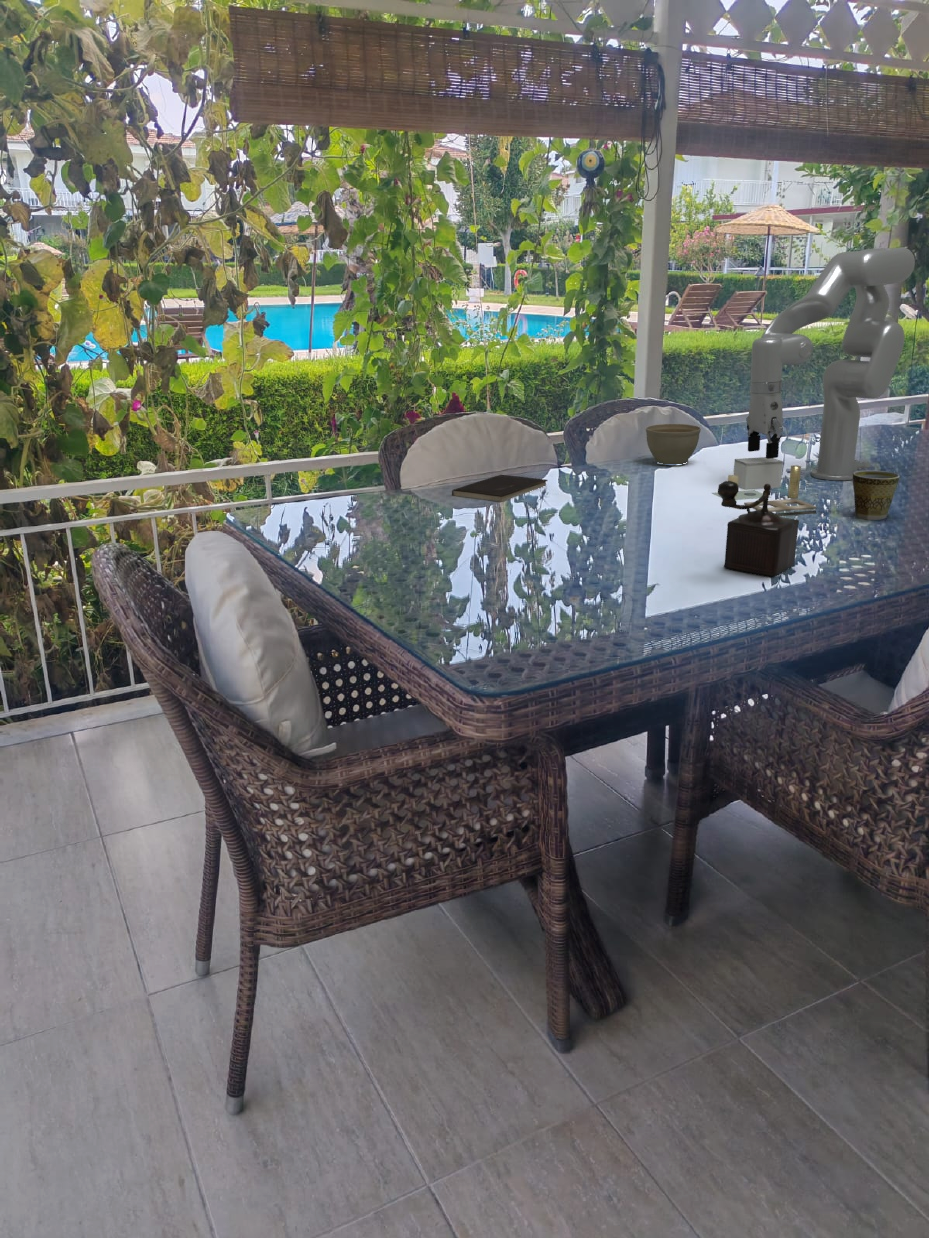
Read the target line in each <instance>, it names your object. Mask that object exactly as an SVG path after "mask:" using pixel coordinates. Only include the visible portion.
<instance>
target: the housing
mask: <svg viewBox="0 0 929 1238" xmlns="http://www.w3.org/2000/svg"><path fill="white" fill-rule="evenodd" d="M733 463H734V465H733V475H736V476H738V486H739V488H740V489H742V490H743V491H747V490H764V485H765V484H770V486H771V488H770V489H777V488H778V489H779V488H781V487H782V486H781V485H782V476H783V464H784V461H782V460H779V459H777V458H770V459H767V458H766V456H762V457H749V458H745V457H744V458H735V459H734V462H733Z"/></svg>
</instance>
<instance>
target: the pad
mask: <svg viewBox="0 0 929 1238" xmlns="http://www.w3.org/2000/svg"><path fill="white" fill-rule="evenodd" d="M727 479H728V480H727V481H732V482H735V483H737V484H738V476H736V475H734V474H732V475H728V477H727ZM711 494H712V495H714V496H717V497H718V498H721V496H720V495H719V494H718V491H717V492H711ZM762 495H763V492H760V491H757V490H756V489H751V490H739V491H738V493H737V494H736V496H735V500H736V501H738V500H739V501H741V500H754V499H755V500H758V499H759V498H760V497H761V496H762ZM770 498H771V499H772V496H771V495H770V496H769V498H768V499H770Z"/></svg>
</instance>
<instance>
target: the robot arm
mask: <svg viewBox="0 0 929 1238" xmlns="http://www.w3.org/2000/svg"><path fill="white" fill-rule="evenodd" d="M915 264H916V260H915V255H914V254H913V252H912V251H911V250H910V249H908V248H906V247H886V248H885V247H884V248H883V247H881V248H876V247H875V248H867V249H865V248H864V249H861V250H859V251H858V250H857V251H853V250H852V251H844V252H843V251H842V252H839V253H836V254H835V255H834V256H832V258H831V259H830V260H829V261H828V263H827V264H826V265H825V267H824V268H823V269H822V271H821V273H819V276H818V277H817V279H816V280H815V282H813V284H812V286H810V288H809V290H808V292H807V293H806V294H805V295H804V296H803V297H801V298H800V299H799V300H796V301H795V302H794V303H792V304H791V305H789V306H787V308H785V309H783V310H782V311H781V312H779V313H778V314H777V315H776V316H775V317H774V318H773V319H772V321H771V322H770V323H769V324H768V326H766V328H765V330H764V332H763V333H762V335H761V337H760V338H756V339H754V341H753V342H752V345H751V364H750V365H751V366H750V367H751V368H750V387H749V388H750V389H749V390H750V391H749V392H750V400H749V406H748V407H749V408H748V416H746V417H745V418H746V419H745V421H746V429H747V433H746V434H747V452H749V453H751V452H759V451H760V449H761V435H764V436H765V437H766V439H767V442H766V443H765V444H766V447H765V457H766V458H767V459H770V458H774V459H777V458H778V457H779V453H780V452H779V450H780V447H779V446H780V443H781V439H782V436H783V435H782V434H783V431H784V428H783V421H784V419H783V418H784V417H783V399H782V394H781V393H782V378H783V366H787V365H788V366H797V365H802V364H804V363H805V362H808V360H809V359H810V358H811V356H812V355H813V352H814V345H813V342H812V340H811V338H809V337H808V336H806V335H804V334H799V333H796V332H797V331H798V330H800V329H802V328H804V327H806V326H809V325H812V324H815V323H818V322H820V321H822V320H825V319H827V318H829V317H831V316H832V315H833V314H835V312H836V310H837V309H838V308H839V306H840V305H841V303H842V302H843V300H844V299H845V298H846V297H847V294H848V293H849V291H850V290H851V289H852V288H854V290H855V297H856V299H855V303H854V305H853V306H854V307H853V309H852V313H851V316H850V318H849V320H848V324H847V326H846V329H845V332H844V335H843V339H842V341H841V347H842V351H843V352H844V353H845V354H847V356H848V355H849V356H852V357H856V358H857V357H859V358H869V361H868V360H859V359H837V360H835V361H832V362H831V363H829V364H828V365H827V366H826V368H825V369H824V371H823V375H822V390H823V392H822V393H823V410H822V411H823V412H822V420H821V421H822V422H821V431H820V437H819V438H820V439H819V450H818V458H817V467H816V469H815V468H814V469H811V471H810V476H811V477H813V478H816V479H820V480H828V481H829V480H830V481H851V480H852V481H853V473H854V472H857V471H860V469H861V470H866V469H870V468H871V463H870V461H861V462H860V461H859V460H858V459H856V451H857V443H858V436H859V435H858V434H859V425H860V419H861V410H860V405H859V402H858V399H867V400H869V399H870V400H873V399H878V398H880V397H882V396H883V395H884V394H885V393H886V391H887V389H888V387H889V386H890V384H891V381H892V378H893V375H894V373H895V371H896V369H897V365H898V364H899V360H900V357H901V355H902V352H903V349H904V345H905V341H906V340H905V339H906V338H905V331H904V328H903V327H902V325H901V324H900V323H898V322H896V321H893V320H886V317H887V314H888V311H889V308H890V298H889V294H888V292H887V289H886V287H885V286H886V285H894V284H899V283H902V282H904V281H906V280H908V279H909V278H910V276H911V275H912V273H913V271H914V269H915V266H916V265H915ZM857 398H858V399H857ZM760 434H761V435H760Z"/></svg>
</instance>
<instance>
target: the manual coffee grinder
mask: <svg viewBox="0 0 929 1238" xmlns="http://www.w3.org/2000/svg"><path fill="white" fill-rule="evenodd" d="M739 488H740V487H739V486H738V484H737V483H735V482H732V481H728V480H725V481H723V482H721V483H720V484H718V487H717V492H718V494H719V495H720V496H721V497H720V498H721V500H722V501H721V507H725V508H729V509H730V508H731V509H737V510H746V512H747V513H743V514H740V515H739V516H737V518H734V519H732V520H729V521H728V522H727V525H726V526H727V529H726V540H725V555H724V564H723V568H725V569H728V570H732V571H735V572H740V573H745V574H748V575H749V574H750V575H755V576H760V577H766V578H775V577H778V576H780V575H781V574H783V573H785V572H786V570H787V569H788V568H789V569H791V568H793V567H794V566H795V564H796V562H795V561H796V551H797V541H798V532H799V524H800V521H799V519H794V518H789V517H784V516H778V515H777V514H775V513H776V512H771V511H768V509H767V508H769V505H768V501H769V499H770V498H769V496H770V497H771V489H772V488H771V486H770V484H765V485H764V489H763V492H762V493H763V495H762V496H761V497H760V498H757V499H756V500H755V501H752V502H753V503H751V504H747V505H744V504H738V502H737V501H738V500H735V496H736V494H737V493H738V491H740V490H739ZM762 502H763V506H761V507H762V509H759V510H755V509H754V510H751V509H753V507H755V506H757V505H759V504H760V503H762ZM793 565H794V566H793ZM789 569H788V570H789ZM788 570H787V571H788ZM782 572H783V573H782ZM777 575H778V576H777Z"/></svg>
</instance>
